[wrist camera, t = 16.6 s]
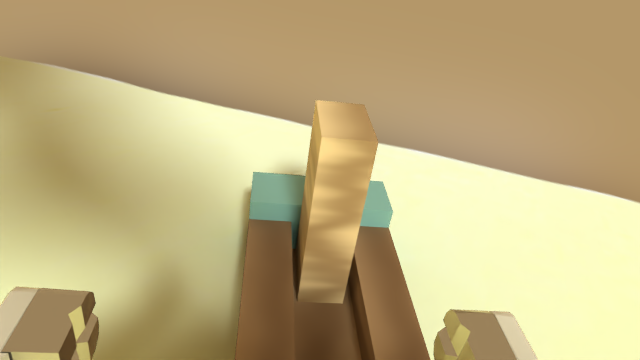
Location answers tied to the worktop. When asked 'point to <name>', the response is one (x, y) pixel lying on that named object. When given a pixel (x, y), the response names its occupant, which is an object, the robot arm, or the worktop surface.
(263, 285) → the walnut sill
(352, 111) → the oak plank
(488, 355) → the robot arm
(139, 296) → the worktop surface
